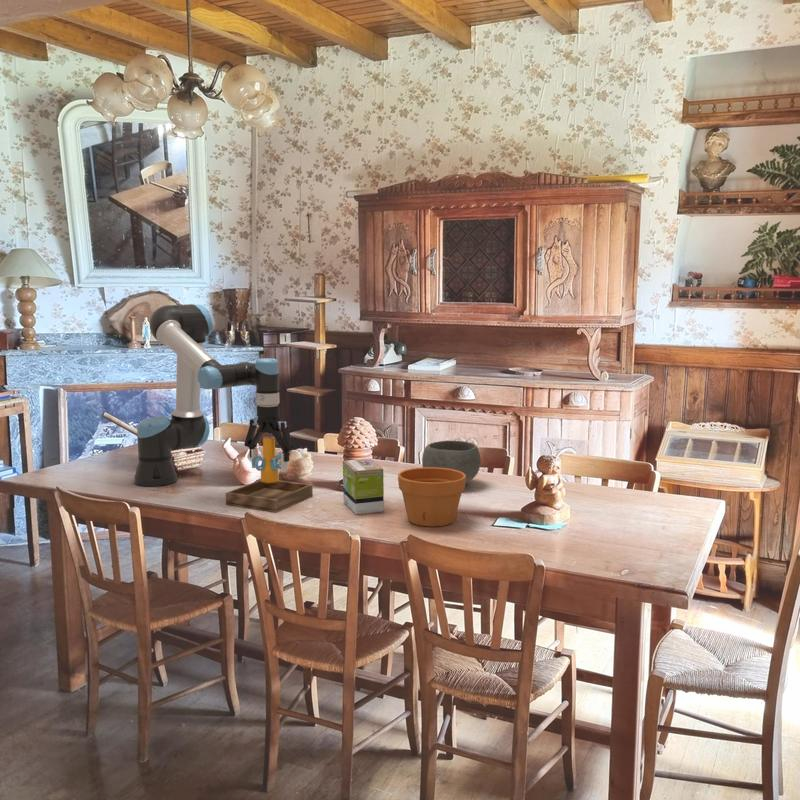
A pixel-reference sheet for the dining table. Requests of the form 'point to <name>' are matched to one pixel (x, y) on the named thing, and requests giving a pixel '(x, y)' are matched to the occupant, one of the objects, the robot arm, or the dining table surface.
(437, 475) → the flower pot
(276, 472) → the orange toy with wheels
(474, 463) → the bowl
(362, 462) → the tea box
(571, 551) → the dining table surface
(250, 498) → the tray
